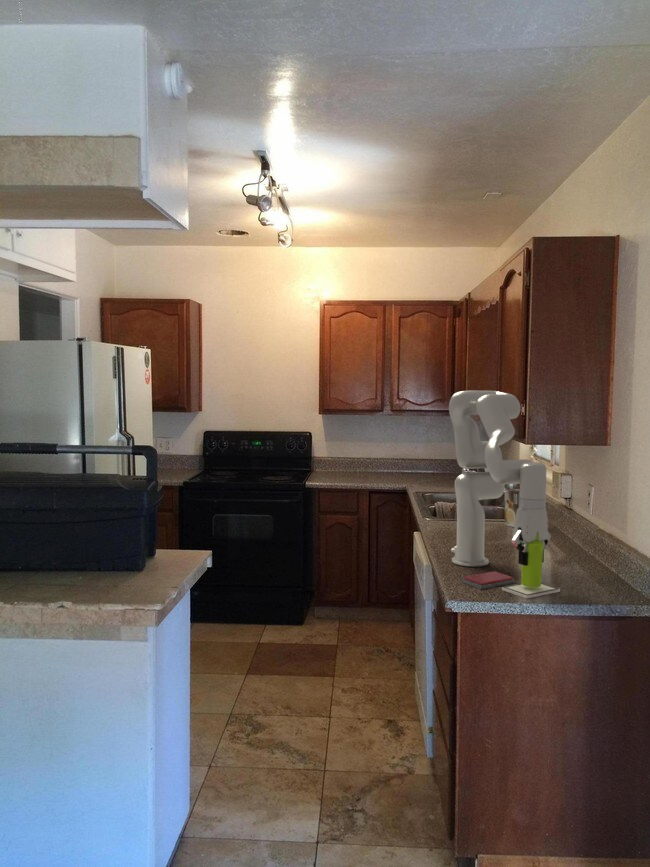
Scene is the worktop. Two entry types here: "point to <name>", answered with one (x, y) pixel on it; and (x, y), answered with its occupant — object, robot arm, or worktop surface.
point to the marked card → (530, 590)
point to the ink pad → (488, 580)
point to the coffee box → (511, 505)
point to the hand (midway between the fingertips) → (530, 562)
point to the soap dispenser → (533, 564)
